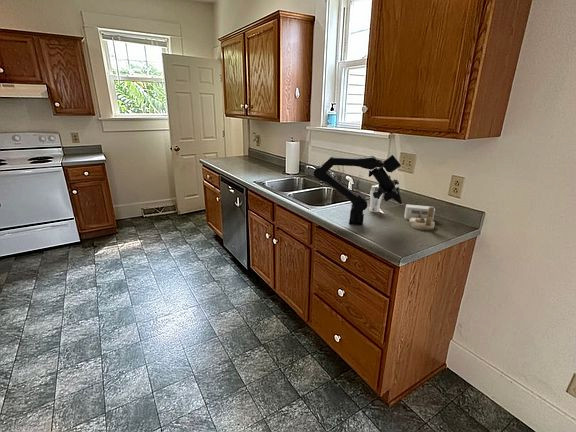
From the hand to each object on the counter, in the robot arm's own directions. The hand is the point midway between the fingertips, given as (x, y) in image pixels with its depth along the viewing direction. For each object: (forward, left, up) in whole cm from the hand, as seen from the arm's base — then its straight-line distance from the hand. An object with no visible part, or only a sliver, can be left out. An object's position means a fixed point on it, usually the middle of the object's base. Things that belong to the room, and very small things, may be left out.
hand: (401, 203), depth 154 cm
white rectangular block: (+12, +15, -13) cm, 23 cm away
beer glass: (-11, +22, -13) cm, 28 cm away
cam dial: (+12, +5, -12) cm, 18 cm away
